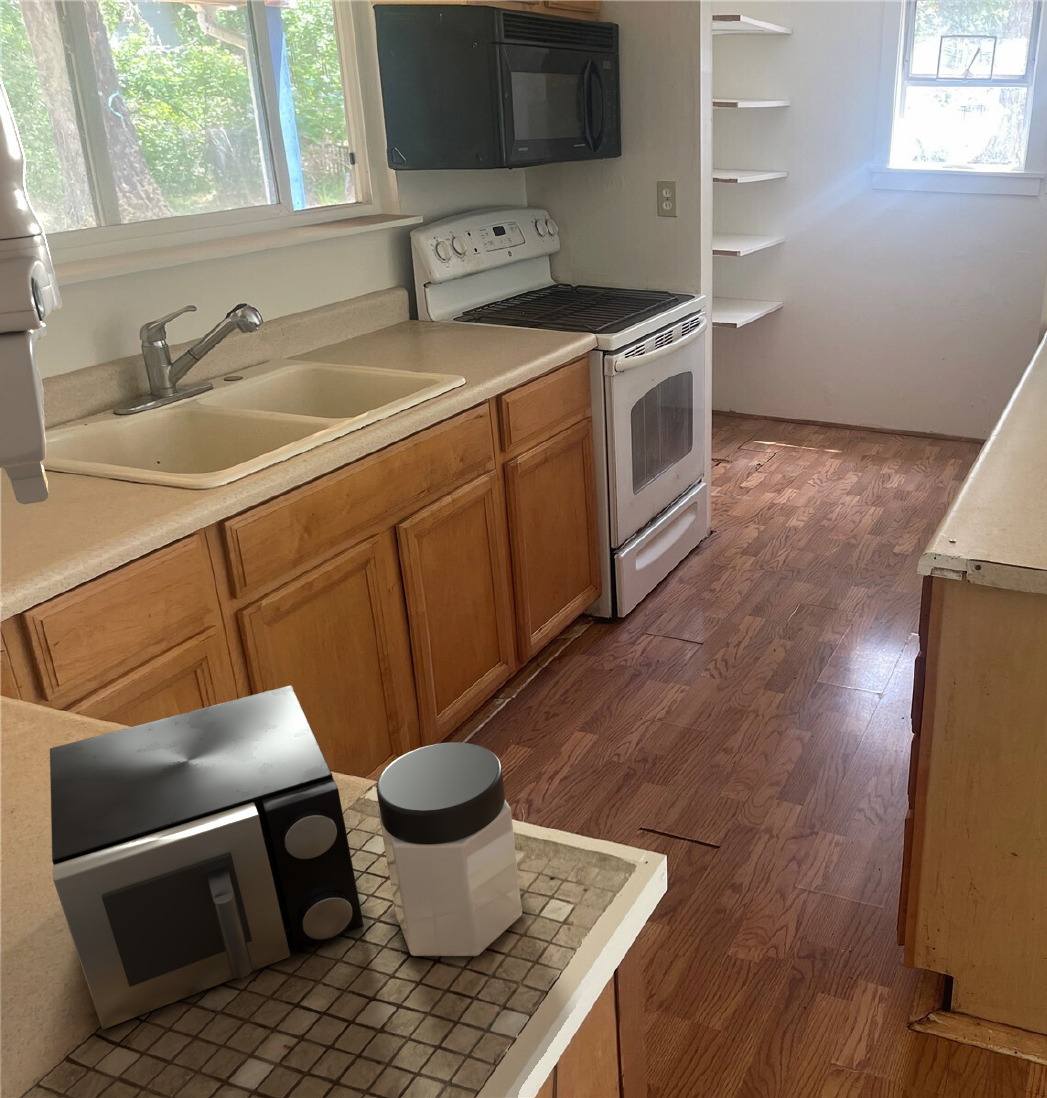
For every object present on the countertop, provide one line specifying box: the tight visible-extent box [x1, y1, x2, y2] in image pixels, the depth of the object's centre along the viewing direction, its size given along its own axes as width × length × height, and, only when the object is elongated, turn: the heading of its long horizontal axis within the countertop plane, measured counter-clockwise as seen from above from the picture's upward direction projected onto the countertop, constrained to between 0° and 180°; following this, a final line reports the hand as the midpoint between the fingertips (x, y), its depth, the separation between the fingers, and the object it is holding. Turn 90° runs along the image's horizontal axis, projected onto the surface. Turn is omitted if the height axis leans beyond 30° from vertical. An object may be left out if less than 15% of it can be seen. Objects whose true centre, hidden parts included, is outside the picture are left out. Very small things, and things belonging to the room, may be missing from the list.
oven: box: [49, 684, 365, 953], centre depth 71 cm, size 16×16×12 cm
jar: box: [376, 742, 523, 957], centre depth 71 cm, size 9×8×12 cm
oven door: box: [52, 802, 291, 1030], centre depth 64 cm, size 5×11×12 cm, turn 123°
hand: (34, 497), depth 69 cm, fingers closed
